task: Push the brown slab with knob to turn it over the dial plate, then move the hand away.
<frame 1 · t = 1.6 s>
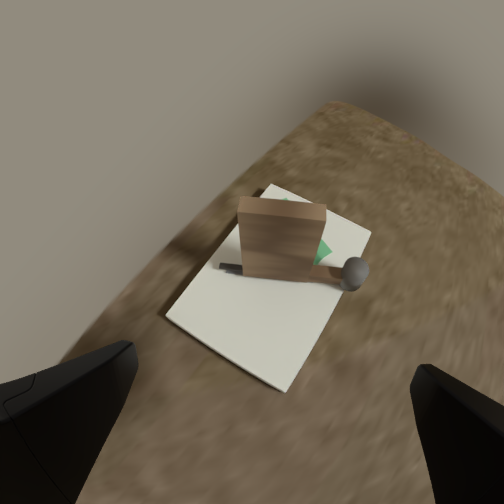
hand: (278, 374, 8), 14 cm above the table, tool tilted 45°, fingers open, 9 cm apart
dial plate: (277, 276, 25), on the table
brown slab with knob: (297, 247, 20), point 6 cm above the table, hinge at 0.0°
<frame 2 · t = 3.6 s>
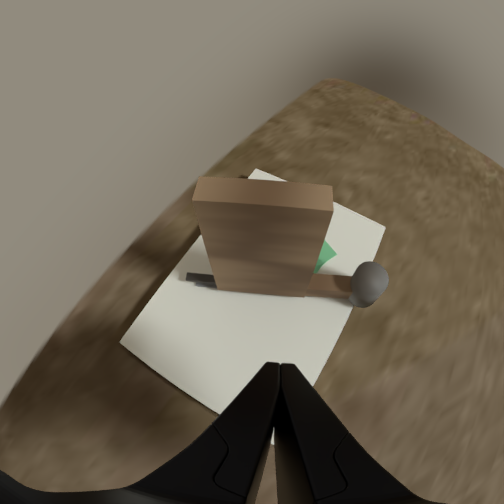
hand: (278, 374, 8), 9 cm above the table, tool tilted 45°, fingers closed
dial plate: (264, 288, 19), on the table
brown slab with knob: (289, 251, 14), point 5 cm above the table, hinge at 0.0°
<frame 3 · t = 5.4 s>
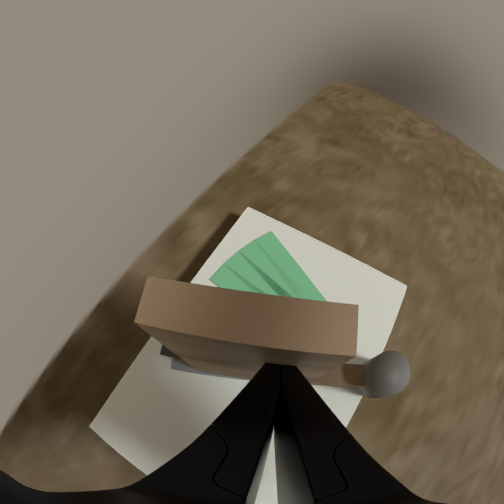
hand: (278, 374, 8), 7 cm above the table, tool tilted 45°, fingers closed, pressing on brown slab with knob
dial plate: (256, 369, 15), on the table
brown slab with knob: (286, 356, 10), point 6 cm above the table, hinge at 2.8°, touching gripper
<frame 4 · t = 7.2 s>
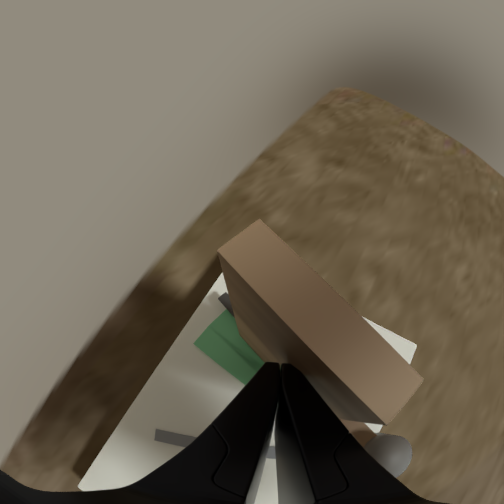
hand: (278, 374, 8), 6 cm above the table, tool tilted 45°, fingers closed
dial plate: (246, 439, 12), on the table
brown slab with knob: (324, 379, 9), point 6 cm above the table, hinge at 43.2°, touching gripper
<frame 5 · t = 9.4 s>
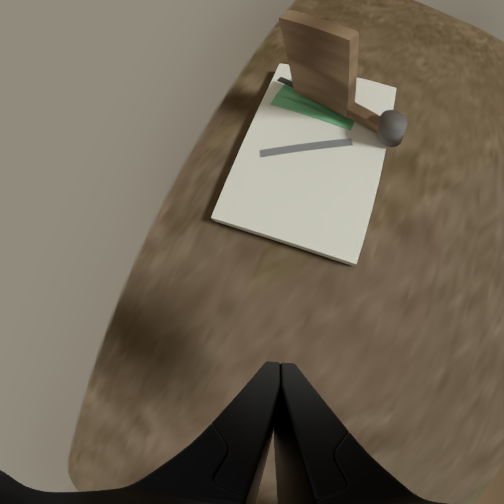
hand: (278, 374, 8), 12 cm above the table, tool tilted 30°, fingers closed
dial plate: (314, 148, 22), on the table
brown slab with knob: (336, 72, 17), point 6 cm above the table, hinge at 43.2°
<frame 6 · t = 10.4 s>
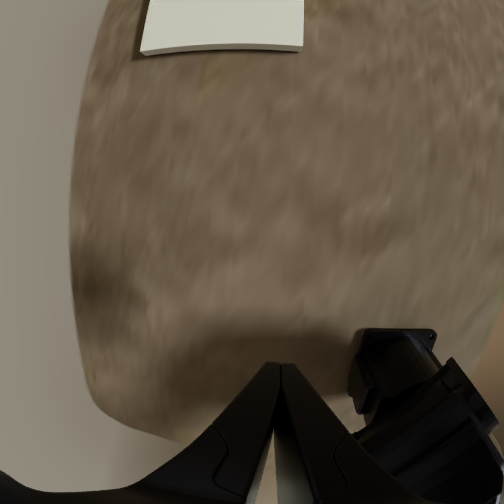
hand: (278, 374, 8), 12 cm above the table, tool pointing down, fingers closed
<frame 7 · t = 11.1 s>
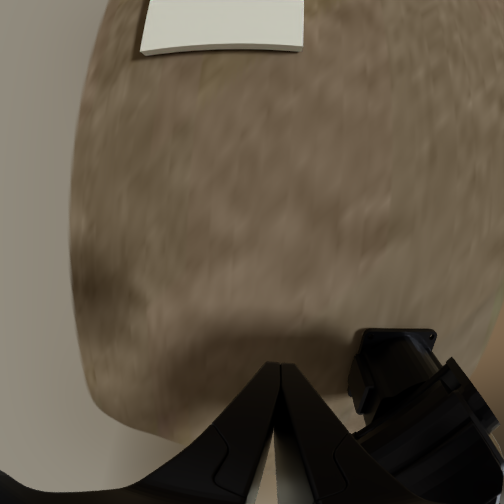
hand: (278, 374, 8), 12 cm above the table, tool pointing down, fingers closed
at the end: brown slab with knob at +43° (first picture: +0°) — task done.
